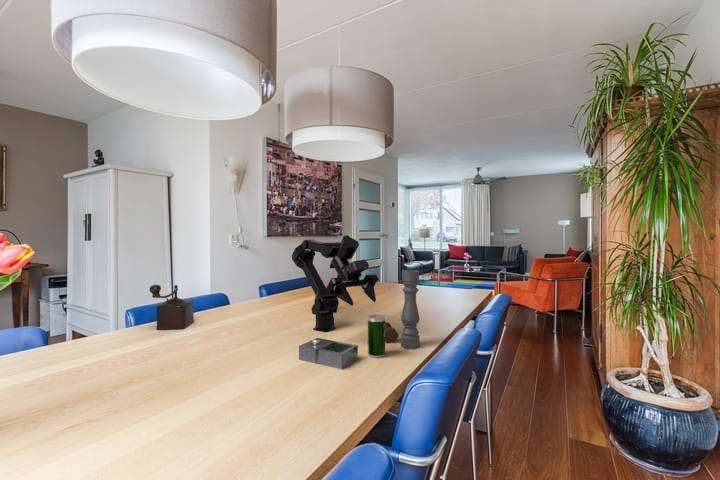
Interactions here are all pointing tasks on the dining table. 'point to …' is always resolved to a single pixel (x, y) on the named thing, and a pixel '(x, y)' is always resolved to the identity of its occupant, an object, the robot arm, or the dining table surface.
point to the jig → (328, 353)
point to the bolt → (390, 333)
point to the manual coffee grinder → (173, 311)
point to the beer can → (376, 336)
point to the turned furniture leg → (410, 310)
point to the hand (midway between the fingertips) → (364, 303)
